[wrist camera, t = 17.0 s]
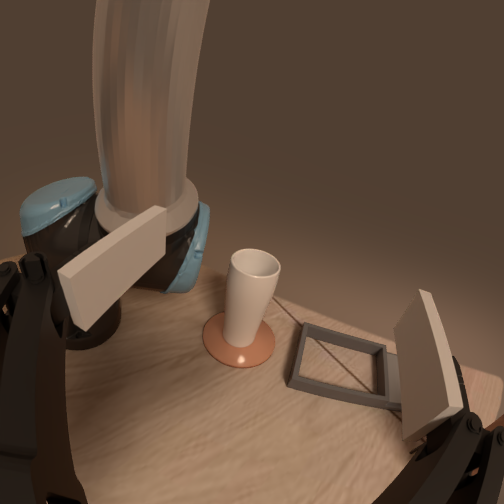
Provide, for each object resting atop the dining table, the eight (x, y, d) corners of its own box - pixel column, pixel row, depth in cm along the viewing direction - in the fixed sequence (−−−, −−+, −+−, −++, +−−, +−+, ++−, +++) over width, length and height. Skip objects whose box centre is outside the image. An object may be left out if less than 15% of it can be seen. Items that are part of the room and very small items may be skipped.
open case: (286, 386, 37) (291, 378, 36) (300, 331, 47) (304, 321, 46) (449, 415, 32) (458, 409, 31) (441, 367, 43) (447, 359, 41)
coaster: (190, 350, 39) (190, 348, 39) (218, 304, 50) (219, 302, 49) (264, 378, 38) (265, 376, 37) (280, 326, 48) (281, 324, 47)
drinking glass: (265, 347, 42) (291, 274, 34) (226, 357, 39) (242, 280, 31) (248, 318, 47) (266, 246, 39) (212, 325, 44) (222, 249, 36)
